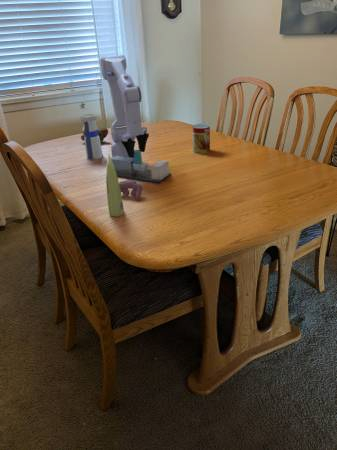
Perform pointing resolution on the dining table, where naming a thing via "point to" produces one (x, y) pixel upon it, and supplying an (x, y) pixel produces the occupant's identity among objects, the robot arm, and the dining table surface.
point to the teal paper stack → (138, 162)
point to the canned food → (201, 138)
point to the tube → (113, 190)
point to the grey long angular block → (133, 171)
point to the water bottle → (91, 135)
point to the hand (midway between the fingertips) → (136, 154)
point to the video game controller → (131, 185)
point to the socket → (160, 170)
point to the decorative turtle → (101, 133)
